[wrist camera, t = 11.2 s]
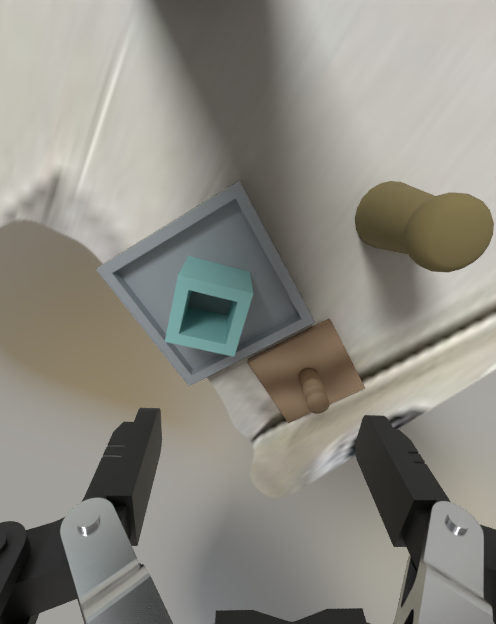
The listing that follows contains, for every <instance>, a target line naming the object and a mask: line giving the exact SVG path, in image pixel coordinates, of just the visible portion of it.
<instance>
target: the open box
mask: <svg viewBox="0 0 496 624" xmlns="http://www.w3.org/2000/svg"><path fill="white" fill-rule="evenodd" d="M192 291H195V292H199V293H203V294H207V295H211V296H215V297H219V298H223V299H227V300H231V303H230V307H229V310H228V314H227V315H224V314H220V313H216V312H211V311H207V310H203V309H199V308H194V307H190V306H188V305H189V301H190V296H191V292H192ZM252 296H253V288H252V282H251V275H250V272H249V271H245V270H241V269H237V268H233V267H229V266H226V265H222V264H218V263H214V262H210V261H206V260H202V259H198V258H195V257H191V256H188V257H187V259H186V261H185V263H184V265H183V267H182V269H181V270H180V272H179V274H178V278H177V283H176V288H175V293H174V298H173V303H172V308H171V313H170V318H169V323H168V328H167V333H166V338H165V342H169V343H173V344H178V345H182V346H187V347H192V348H196V349H201V350H205V351H210V352H215V353H219V354H224V355H228V356H233V357H234V356H235V353H236V349H237V346H238V343H239V339H240V336H241V333H242V329H243V326H244V323H245V320H246V316H247V313H248V310H249V306H250V303H251V300H252Z"/></svg>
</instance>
